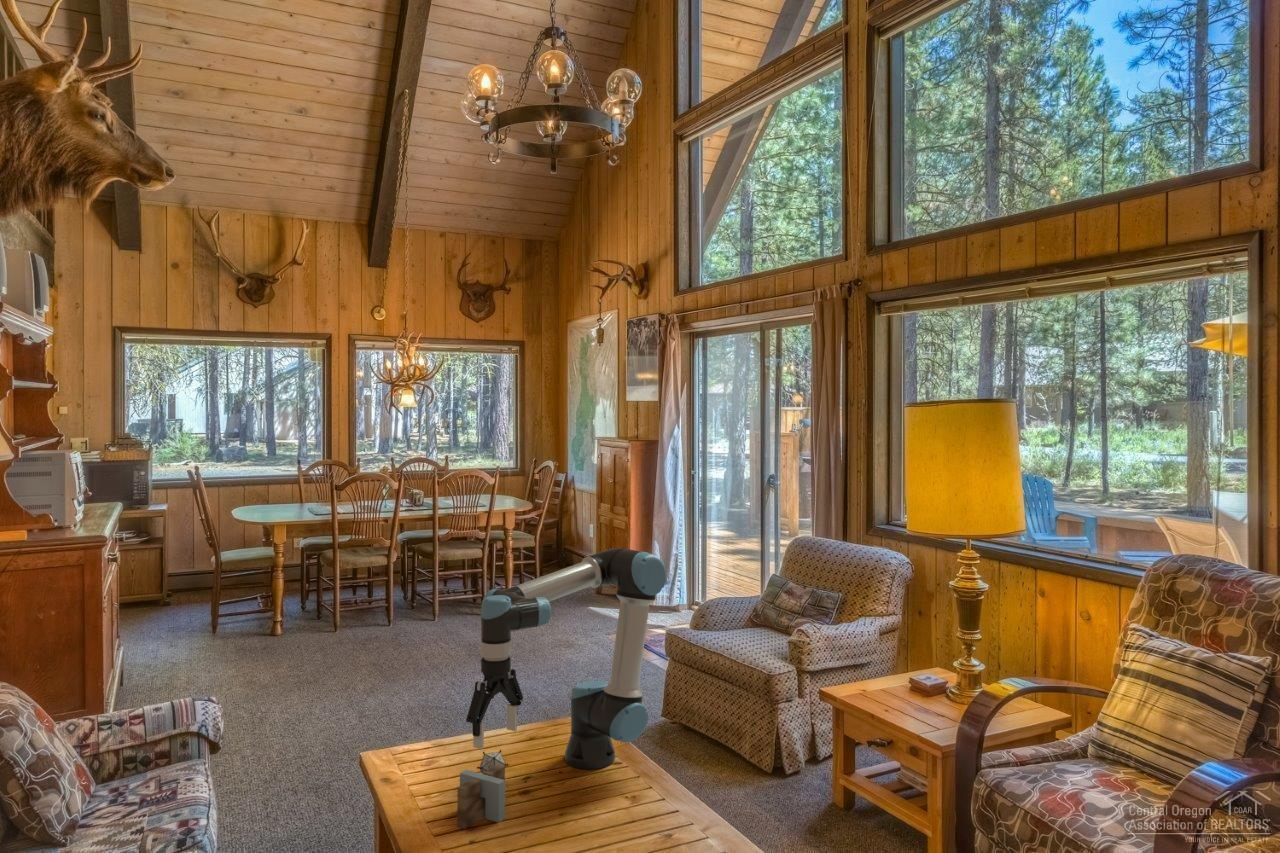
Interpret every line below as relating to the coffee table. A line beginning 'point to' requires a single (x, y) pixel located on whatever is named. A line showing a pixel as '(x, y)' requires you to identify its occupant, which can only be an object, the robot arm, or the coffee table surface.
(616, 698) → the robot arm
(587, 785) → the coffee table surface
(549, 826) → the coffee table surface
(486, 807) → the cross plank
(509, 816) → the coffee table surface
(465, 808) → the base plank
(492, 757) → the game die
